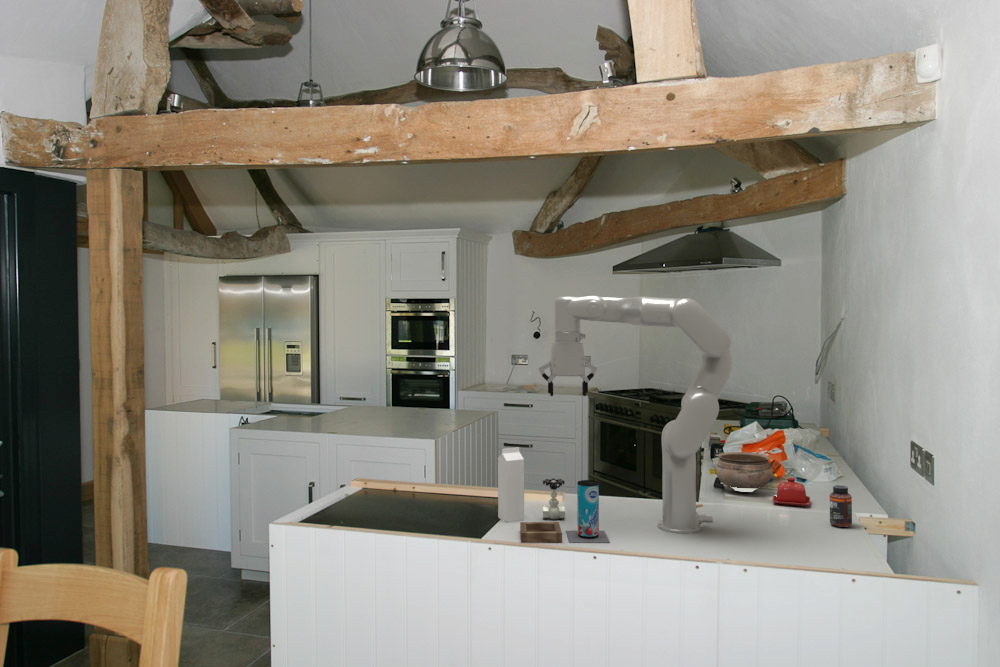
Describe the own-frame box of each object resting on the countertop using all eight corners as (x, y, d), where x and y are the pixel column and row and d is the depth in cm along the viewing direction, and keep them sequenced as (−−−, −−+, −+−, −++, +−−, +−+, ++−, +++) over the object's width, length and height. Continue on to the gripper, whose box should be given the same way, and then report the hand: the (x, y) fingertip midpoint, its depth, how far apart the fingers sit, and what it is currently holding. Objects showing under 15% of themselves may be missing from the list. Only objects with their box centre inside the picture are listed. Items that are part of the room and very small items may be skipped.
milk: (498, 519, 223) (497, 447, 222) (515, 516, 225) (514, 445, 225) (507, 523, 217) (506, 450, 217) (524, 521, 220) (524, 448, 220)
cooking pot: (785, 498, 246) (785, 462, 246) (731, 499, 245) (731, 463, 244) (754, 482, 271) (754, 449, 271) (705, 483, 270) (705, 450, 269)
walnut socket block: (558, 532, 208) (558, 521, 208) (562, 544, 197) (561, 533, 197) (520, 532, 208) (520, 522, 208) (521, 544, 197) (521, 533, 197)
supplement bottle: (851, 523, 215) (851, 485, 215) (852, 528, 210) (852, 489, 210) (829, 521, 218) (829, 483, 218) (829, 526, 212) (829, 487, 212)
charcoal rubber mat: (604, 532, 208) (604, 530, 208) (610, 543, 197) (609, 542, 197) (565, 532, 208) (565, 530, 208) (569, 544, 197) (569, 542, 197)
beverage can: (583, 540, 198) (583, 485, 198) (573, 534, 204) (573, 481, 204) (602, 537, 200) (602, 483, 200) (592, 531, 206) (592, 479, 206)
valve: (565, 522, 218) (565, 482, 218) (543, 522, 218) (543, 482, 218) (564, 516, 224) (563, 478, 224) (542, 516, 225) (542, 478, 224)
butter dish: (771, 505, 238) (771, 479, 238) (773, 497, 249) (773, 472, 249) (809, 508, 234) (809, 482, 234) (810, 500, 244) (810, 475, 244)
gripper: (595, 337, 219) (595, 394, 219) (537, 338, 219) (538, 394, 219) (598, 338, 212) (598, 396, 212) (539, 338, 212) (539, 397, 212)
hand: (567, 395), depth 216 cm, fingers open, 9 cm apart
